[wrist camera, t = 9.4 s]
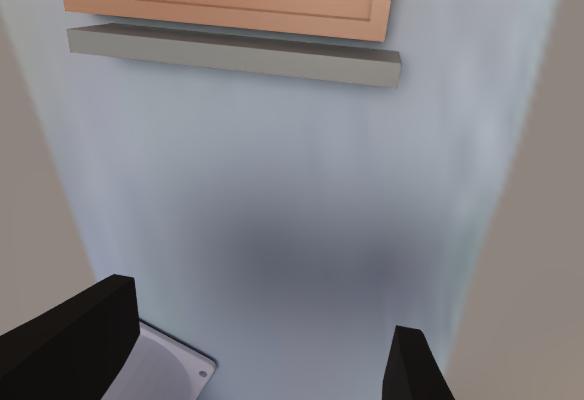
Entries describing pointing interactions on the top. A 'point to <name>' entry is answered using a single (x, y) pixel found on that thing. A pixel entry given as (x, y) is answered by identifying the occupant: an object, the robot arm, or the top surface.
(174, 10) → the tray
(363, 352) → the top surface
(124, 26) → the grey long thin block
